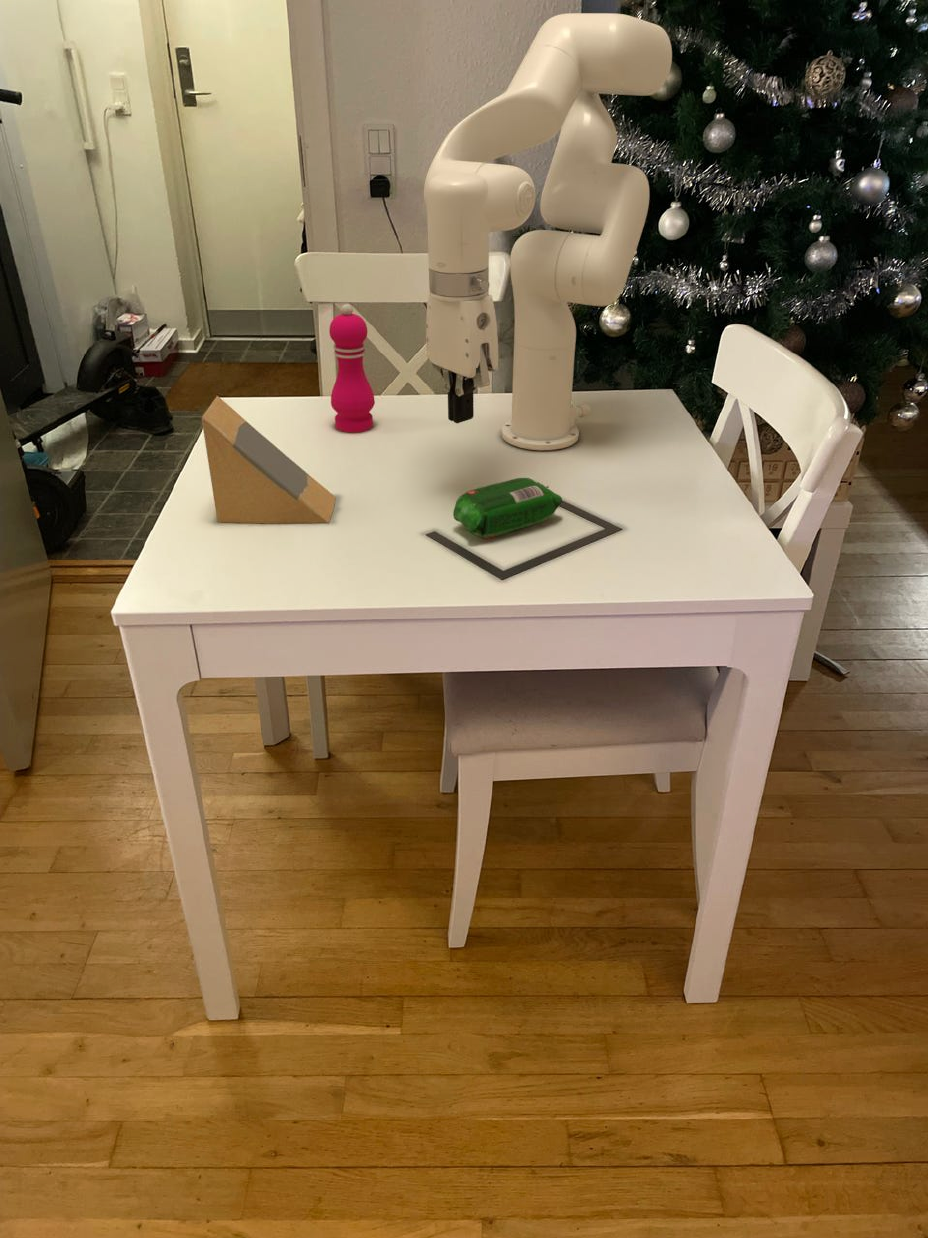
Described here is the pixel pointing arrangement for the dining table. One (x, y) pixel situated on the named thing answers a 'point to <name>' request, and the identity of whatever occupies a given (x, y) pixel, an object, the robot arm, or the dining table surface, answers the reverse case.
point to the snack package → (505, 507)
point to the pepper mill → (351, 373)
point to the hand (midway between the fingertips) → (460, 419)
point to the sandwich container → (257, 475)
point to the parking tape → (537, 560)
